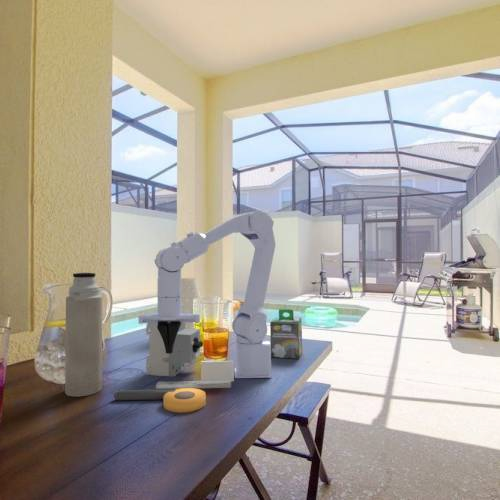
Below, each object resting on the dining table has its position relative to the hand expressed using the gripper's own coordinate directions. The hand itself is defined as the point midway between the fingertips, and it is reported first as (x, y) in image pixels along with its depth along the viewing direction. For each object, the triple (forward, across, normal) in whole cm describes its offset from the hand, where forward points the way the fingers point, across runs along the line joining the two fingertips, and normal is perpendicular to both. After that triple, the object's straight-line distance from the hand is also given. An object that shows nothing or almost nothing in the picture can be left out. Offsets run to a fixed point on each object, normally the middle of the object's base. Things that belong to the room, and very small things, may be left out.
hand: (169, 352), depth 91 cm
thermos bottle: (+9, -20, -1) cm, 22 cm away
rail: (+8, +6, 0) cm, 10 cm away
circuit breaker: (+9, 0, +12) cm, 15 cm away
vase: (+9, -3, +56) cm, 57 cm away
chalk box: (+9, +33, +28) cm, 44 cm away
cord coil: (+8, +5, -10) cm, 14 cm away
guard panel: (+7, +12, 0) cm, 14 cm away
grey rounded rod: (+8, -4, -8) cm, 12 cm away
